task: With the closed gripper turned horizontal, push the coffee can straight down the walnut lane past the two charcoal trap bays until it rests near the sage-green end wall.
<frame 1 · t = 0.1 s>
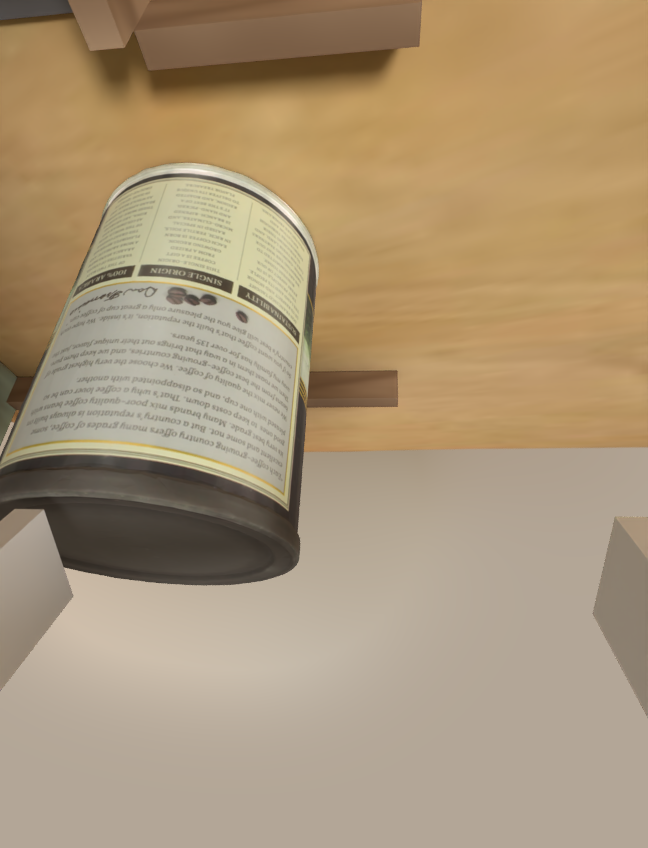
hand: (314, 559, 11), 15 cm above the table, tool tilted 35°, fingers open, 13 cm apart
coffee can: (215, 258, 24), on the table
trap box: (78, 268, 24), on the table
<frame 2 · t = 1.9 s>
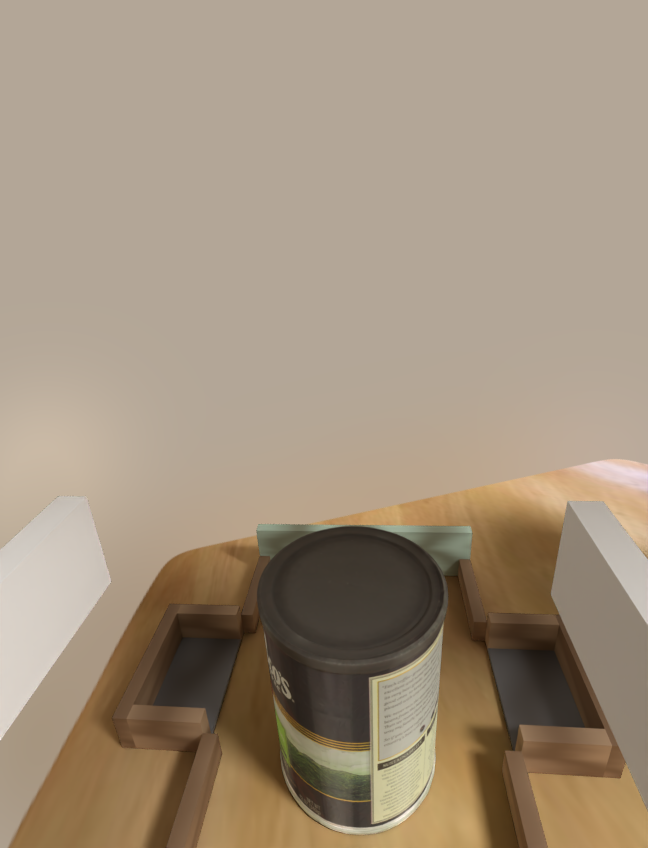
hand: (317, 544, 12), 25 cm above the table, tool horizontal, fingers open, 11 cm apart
coffee can: (358, 748, 32), on the table
trap box: (360, 656, 39), on the table
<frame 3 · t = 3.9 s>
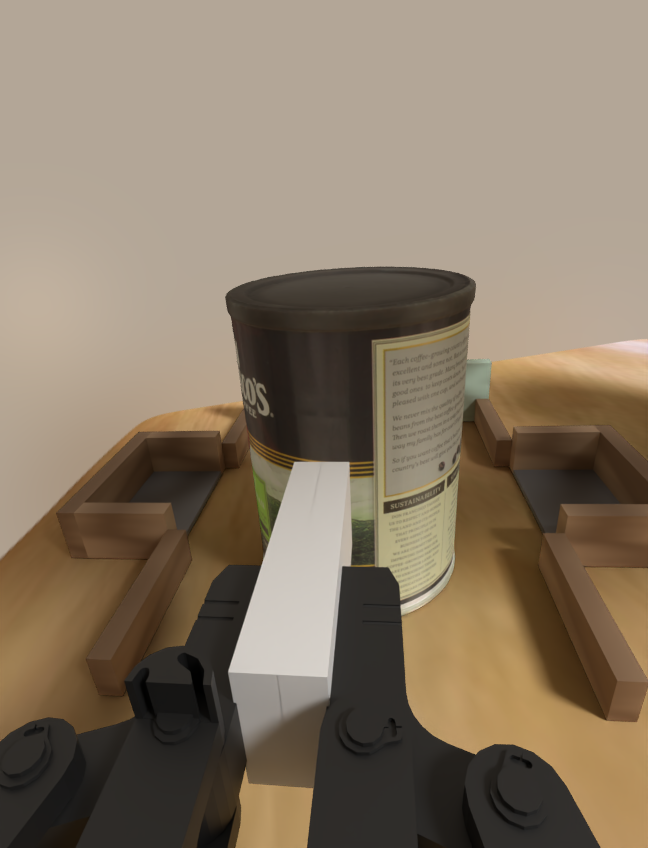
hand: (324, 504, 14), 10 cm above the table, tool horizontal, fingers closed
coffee can: (359, 553, 26), on the table
trap box: (362, 481, 33), on the table
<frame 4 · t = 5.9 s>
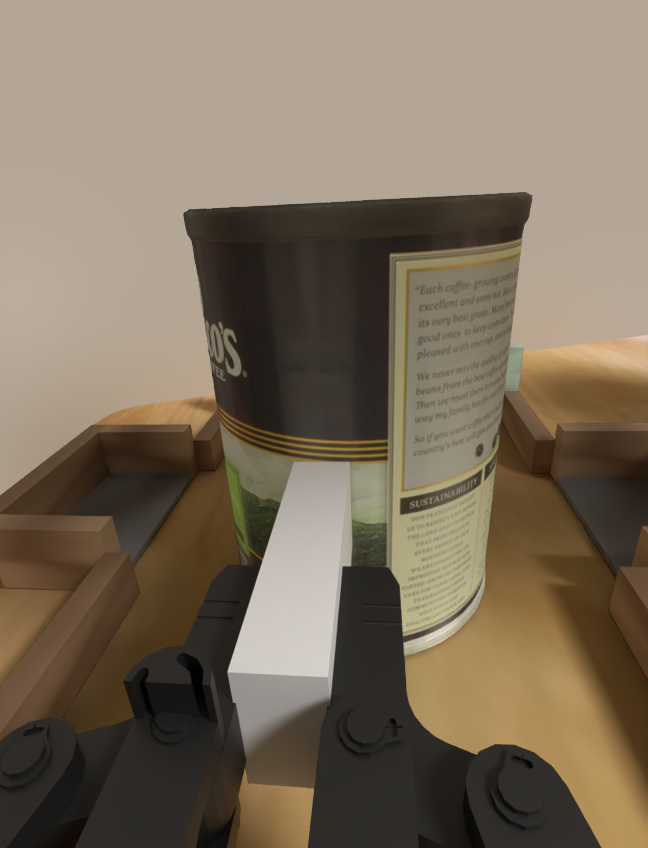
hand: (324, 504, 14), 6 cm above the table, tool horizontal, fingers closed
coffee can: (362, 565, 21), on the table, touching gripper
trap box: (366, 490, 26), on the table
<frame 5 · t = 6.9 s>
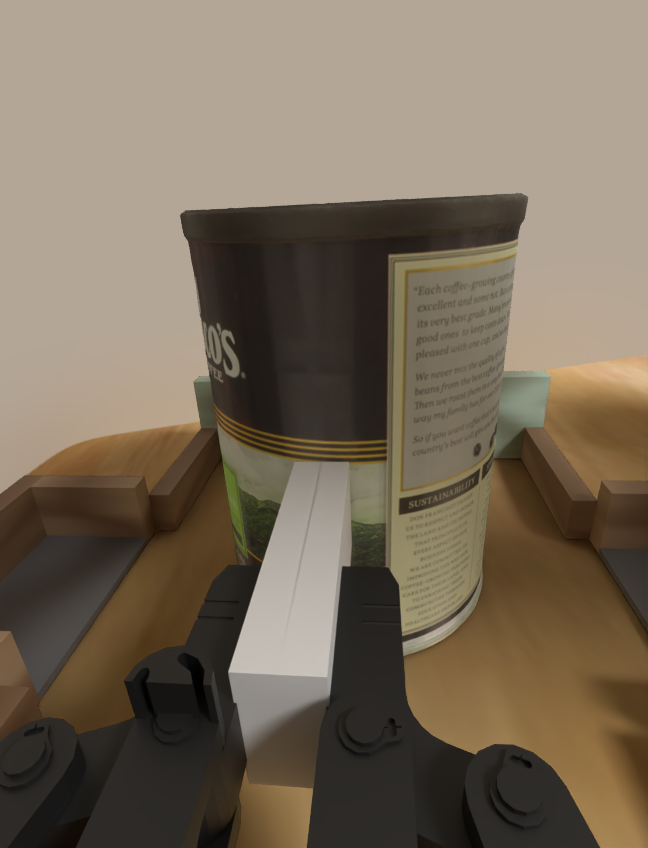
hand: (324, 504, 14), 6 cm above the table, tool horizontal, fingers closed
coffee can: (359, 566, 21), on the table, touching gripper
trap box: (360, 563, 21), on the table
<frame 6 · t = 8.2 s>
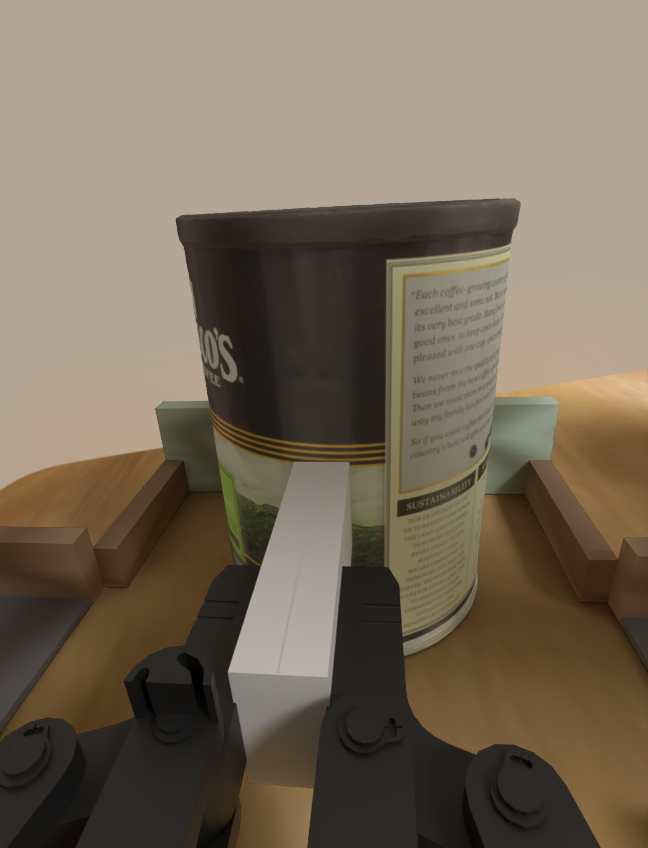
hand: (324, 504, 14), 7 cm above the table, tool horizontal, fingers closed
coffee can: (355, 568, 21), on the table, touching gripper
trap box: (338, 634, 18), on the table
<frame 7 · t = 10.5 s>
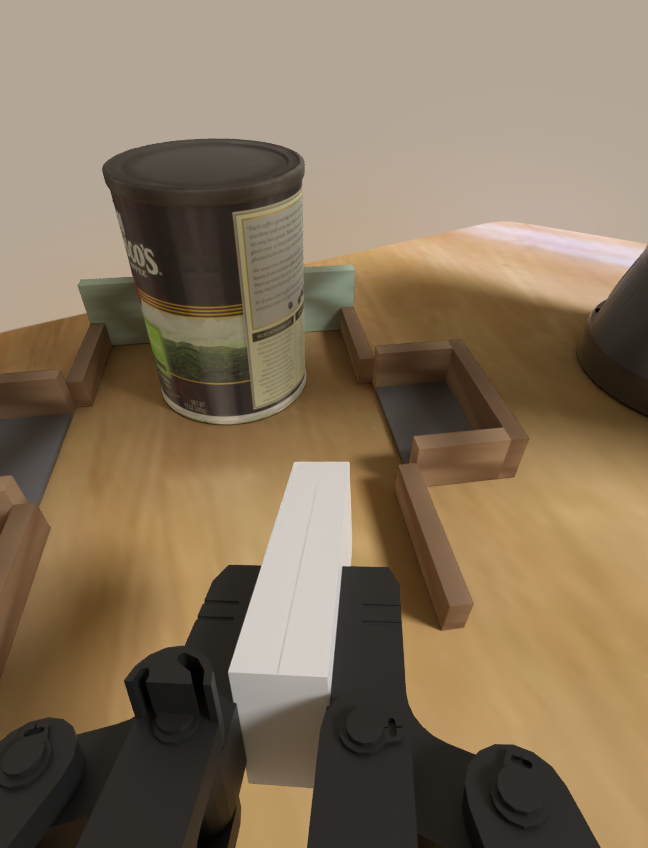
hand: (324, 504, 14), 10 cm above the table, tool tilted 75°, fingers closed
coffee can: (236, 381, 35), on the table
trap box: (229, 412, 32), on the table
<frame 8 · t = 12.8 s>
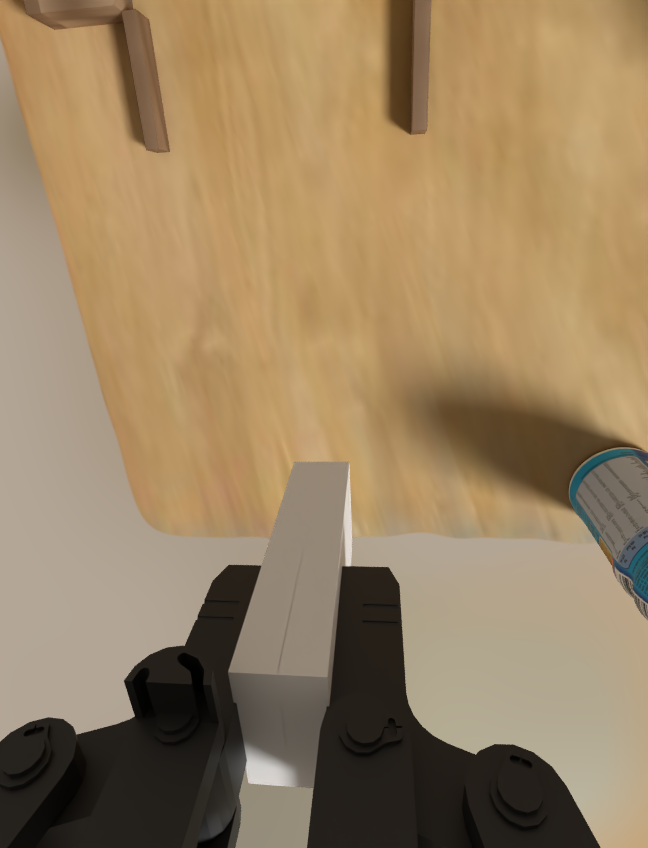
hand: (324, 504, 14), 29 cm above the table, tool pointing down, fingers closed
beverage bottle: (612, 482, 45), on the table
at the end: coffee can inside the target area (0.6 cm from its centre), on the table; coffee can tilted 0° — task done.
